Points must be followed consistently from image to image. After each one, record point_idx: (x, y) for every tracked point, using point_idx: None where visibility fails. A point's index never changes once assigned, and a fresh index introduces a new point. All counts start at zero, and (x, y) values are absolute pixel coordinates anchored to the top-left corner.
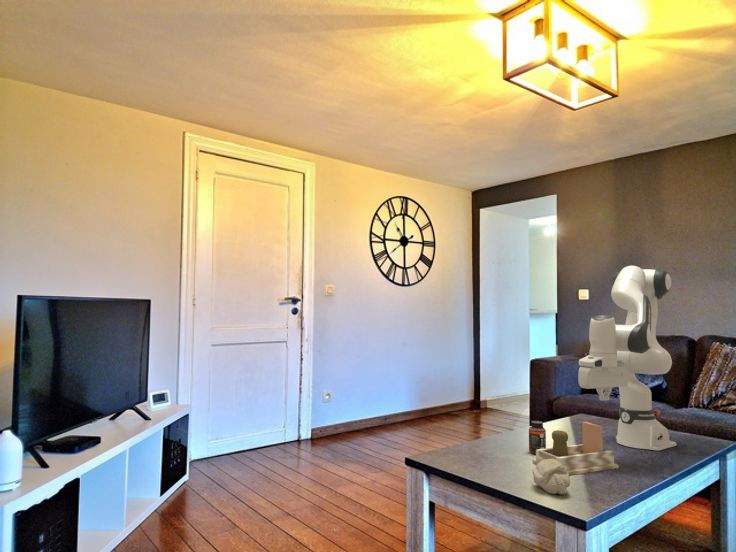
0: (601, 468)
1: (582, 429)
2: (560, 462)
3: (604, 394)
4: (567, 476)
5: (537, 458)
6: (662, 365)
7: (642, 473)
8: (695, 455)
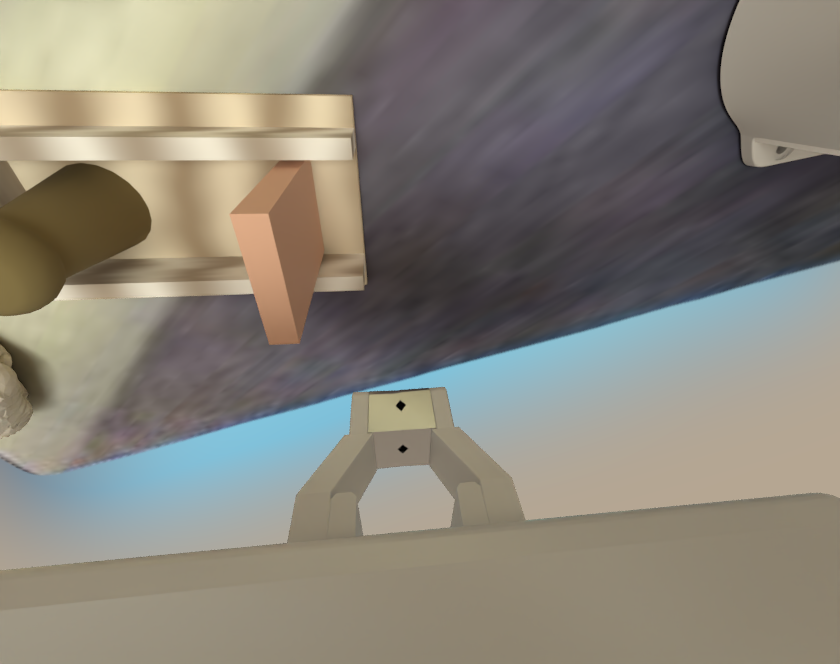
0: None
1: (247, 197)
2: None
3: (433, 437)
4: (4, 435)
5: None
6: None
7: (399, 334)
8: (770, 256)
